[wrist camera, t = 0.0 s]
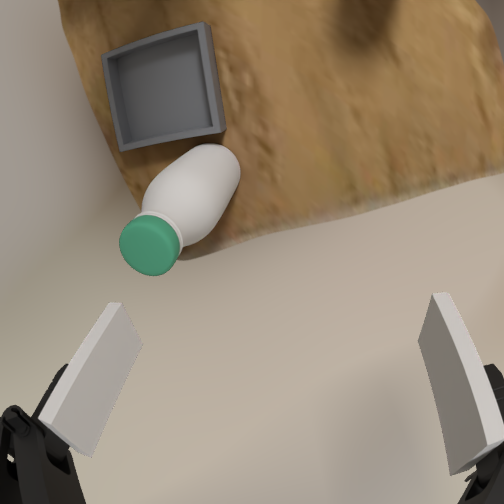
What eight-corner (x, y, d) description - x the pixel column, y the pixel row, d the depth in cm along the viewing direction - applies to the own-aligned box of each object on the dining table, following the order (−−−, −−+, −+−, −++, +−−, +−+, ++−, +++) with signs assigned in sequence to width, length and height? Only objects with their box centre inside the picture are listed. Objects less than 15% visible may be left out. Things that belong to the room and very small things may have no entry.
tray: (113, 55, 30) (101, 54, 28) (210, 25, 28) (203, 21, 25) (130, 146, 37) (120, 152, 34) (226, 128, 35) (221, 132, 32)
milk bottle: (202, 130, 35) (119, 181, 18) (253, 164, 37) (215, 245, 20) (173, 177, 39) (90, 257, 22) (220, 209, 40) (168, 309, 24)
